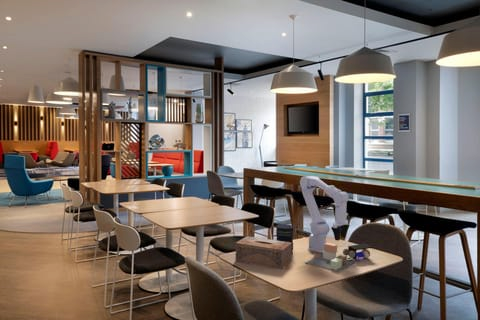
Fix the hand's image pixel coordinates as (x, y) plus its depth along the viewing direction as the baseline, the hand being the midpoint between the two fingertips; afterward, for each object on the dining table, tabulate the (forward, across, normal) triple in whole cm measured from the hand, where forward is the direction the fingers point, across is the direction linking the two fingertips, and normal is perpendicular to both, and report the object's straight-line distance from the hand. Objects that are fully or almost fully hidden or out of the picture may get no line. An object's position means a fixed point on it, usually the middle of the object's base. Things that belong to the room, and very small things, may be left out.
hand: (340, 238), depth 205 cm
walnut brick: (+10, -10, -6) cm, 15 cm away
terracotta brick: (+6, -6, +2) cm, 9 cm away
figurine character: (+10, +4, -8) cm, 14 cm away
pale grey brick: (+10, -6, +3) cm, 12 cm away
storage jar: (+10, -13, +28) cm, 32 cm away
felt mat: (+10, -11, 0) cm, 15 cm away
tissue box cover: (+11, -33, +27) cm, 44 cm away
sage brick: (+10, -17, -6) cm, 21 cm away
